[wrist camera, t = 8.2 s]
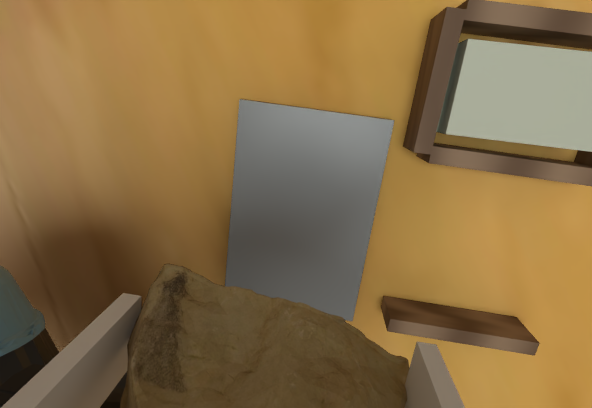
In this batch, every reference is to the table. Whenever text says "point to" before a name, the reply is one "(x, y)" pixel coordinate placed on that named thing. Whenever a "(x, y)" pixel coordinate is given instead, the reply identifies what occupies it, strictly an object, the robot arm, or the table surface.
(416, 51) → the table surface
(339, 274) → the board
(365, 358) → the rock
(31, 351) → the robot arm
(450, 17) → the brown frame and bar
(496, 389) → the table surface
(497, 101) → the pale grey-green block
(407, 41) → the table surface
